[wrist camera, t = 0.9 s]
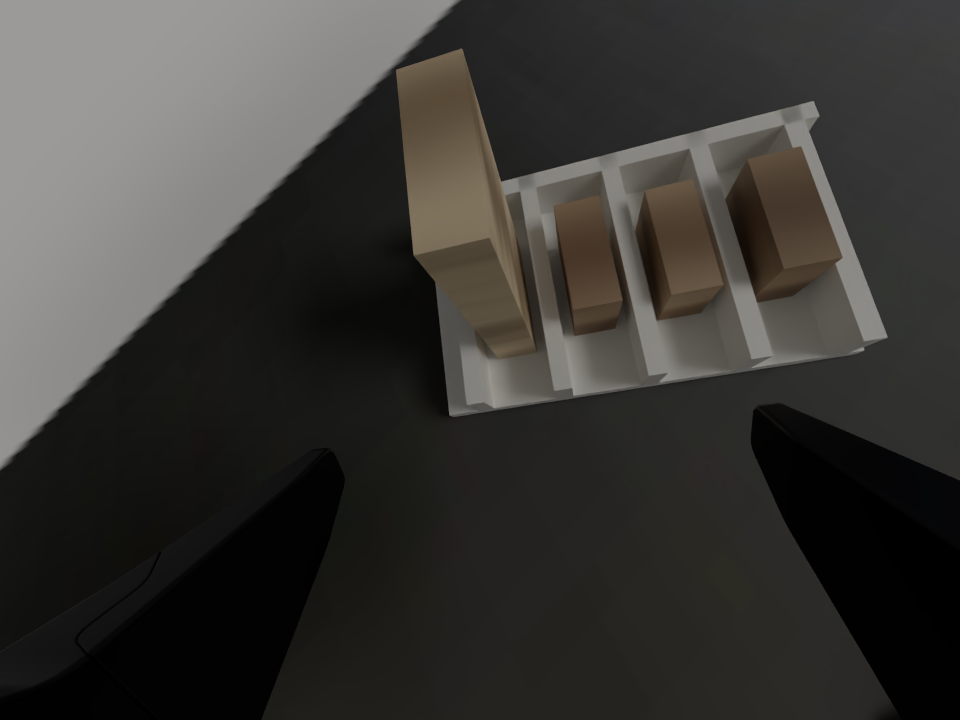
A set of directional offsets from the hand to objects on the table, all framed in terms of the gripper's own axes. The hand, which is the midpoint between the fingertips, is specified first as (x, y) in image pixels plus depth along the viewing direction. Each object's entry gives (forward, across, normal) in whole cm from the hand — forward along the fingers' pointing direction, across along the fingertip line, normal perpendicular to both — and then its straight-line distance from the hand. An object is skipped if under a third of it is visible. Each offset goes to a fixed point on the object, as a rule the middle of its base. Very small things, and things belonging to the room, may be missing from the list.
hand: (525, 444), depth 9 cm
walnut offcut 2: (+15, -6, +2) cm, 16 cm away
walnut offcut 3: (+15, -10, +1) cm, 18 cm away
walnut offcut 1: (+14, -2, +2) cm, 15 cm away
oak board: (+14, +2, +2) cm, 15 cm away
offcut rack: (+15, -4, +2) cm, 16 cm away
